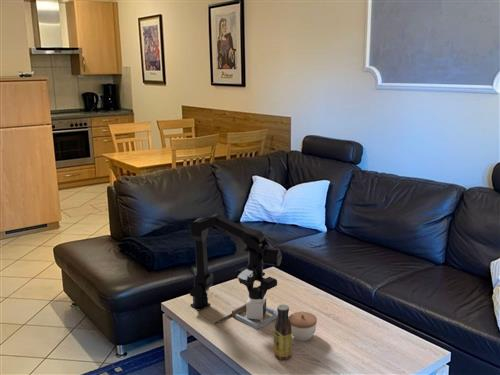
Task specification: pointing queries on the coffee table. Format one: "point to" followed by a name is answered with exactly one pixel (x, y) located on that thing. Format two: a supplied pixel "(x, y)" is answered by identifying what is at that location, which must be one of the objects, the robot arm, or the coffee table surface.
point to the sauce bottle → (282, 334)
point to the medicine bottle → (255, 305)
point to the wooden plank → (239, 310)
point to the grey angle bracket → (262, 322)
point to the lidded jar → (303, 325)
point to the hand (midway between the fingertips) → (256, 296)
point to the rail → (223, 318)
